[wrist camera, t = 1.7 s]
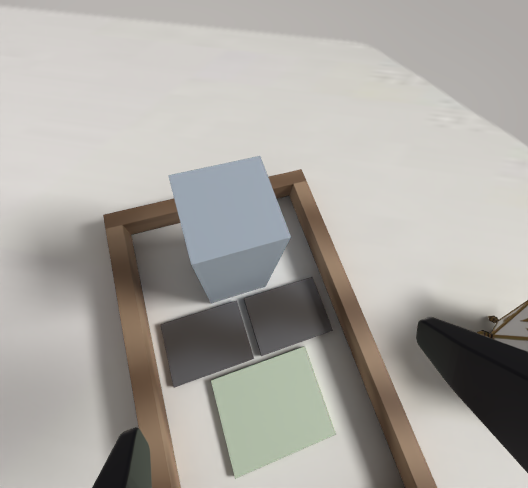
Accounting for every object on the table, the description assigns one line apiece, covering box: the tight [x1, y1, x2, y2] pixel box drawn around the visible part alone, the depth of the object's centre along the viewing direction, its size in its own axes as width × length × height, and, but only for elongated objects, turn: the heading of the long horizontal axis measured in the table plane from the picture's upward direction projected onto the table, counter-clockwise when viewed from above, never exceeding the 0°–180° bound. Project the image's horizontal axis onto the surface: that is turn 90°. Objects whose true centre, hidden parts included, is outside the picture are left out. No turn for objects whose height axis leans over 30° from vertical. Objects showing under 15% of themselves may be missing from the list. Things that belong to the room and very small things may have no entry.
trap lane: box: [103, 169, 437, 488], centre depth 20 cm, size 26×16×2 cm, turn 18°
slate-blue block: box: [168, 156, 291, 303], centre depth 18 cm, size 4×4×11 cm
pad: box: [211, 346, 336, 479], centre depth 20 cm, size 6×7×1 cm
